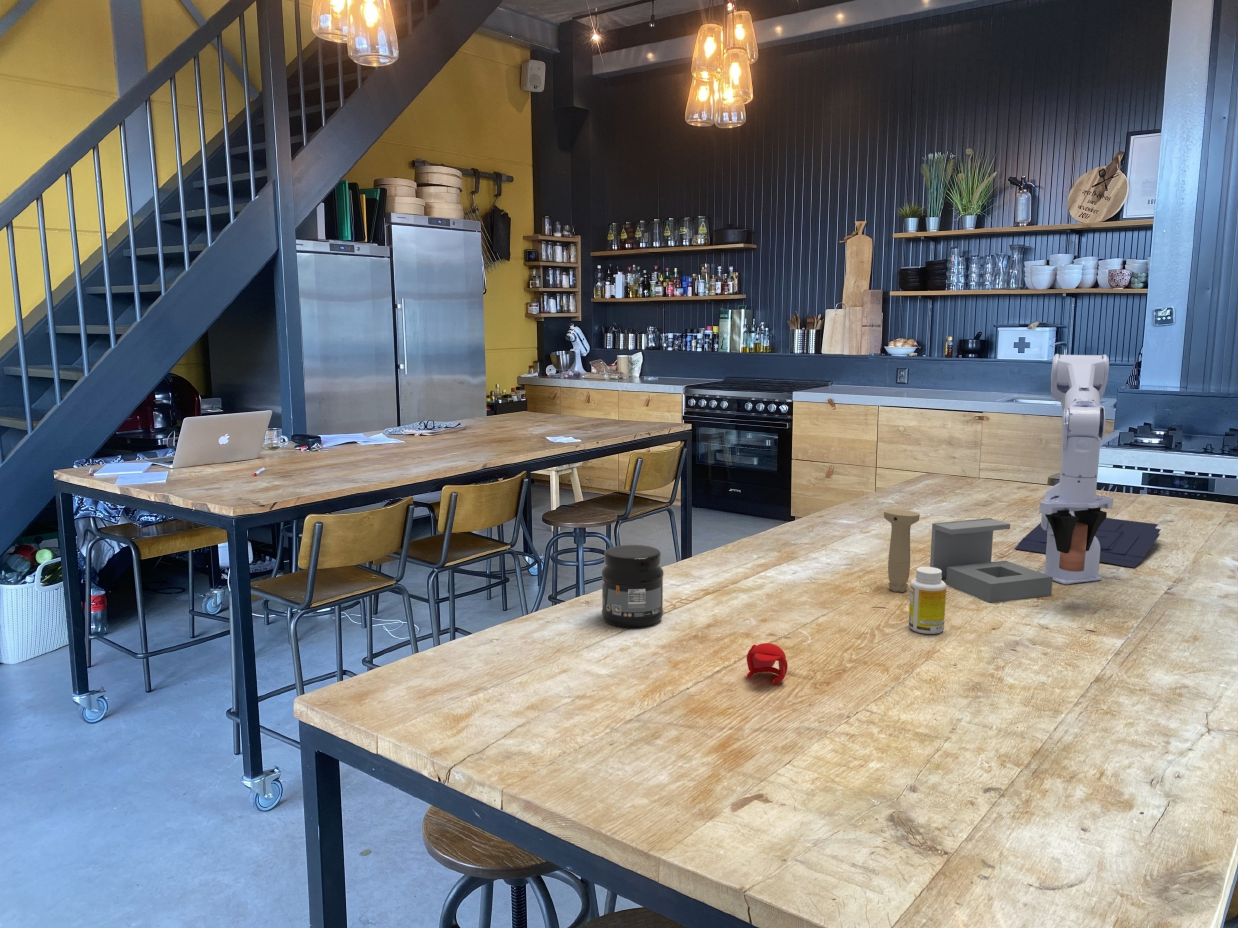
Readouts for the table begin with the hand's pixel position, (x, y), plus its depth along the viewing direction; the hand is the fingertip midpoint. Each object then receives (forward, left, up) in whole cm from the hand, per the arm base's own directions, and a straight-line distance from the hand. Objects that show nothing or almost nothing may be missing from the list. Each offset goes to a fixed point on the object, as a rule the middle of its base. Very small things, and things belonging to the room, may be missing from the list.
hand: (1072, 550), depth 161 cm
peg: (0, 0, -3) cm, 3 cm away
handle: (+23, -18, -10) cm, 31 cm away
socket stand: (+5, -14, -10) cm, 18 cm away
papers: (-39, -32, -11) cm, 51 cm away
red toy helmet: (+67, +12, -10) cm, 69 cm away
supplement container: (+76, -19, -10) cm, 79 cm away
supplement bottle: (+32, +2, -10) cm, 34 cm away
